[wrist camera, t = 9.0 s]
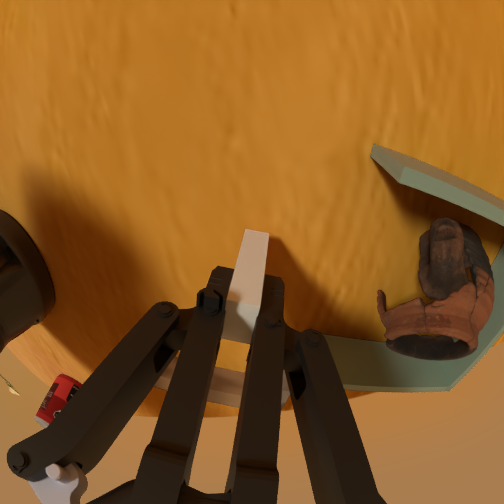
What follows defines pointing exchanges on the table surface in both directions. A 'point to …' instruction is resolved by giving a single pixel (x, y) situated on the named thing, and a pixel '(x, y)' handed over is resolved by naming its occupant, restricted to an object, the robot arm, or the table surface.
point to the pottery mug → (443, 297)
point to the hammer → (221, 385)
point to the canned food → (56, 399)
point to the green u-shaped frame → (452, 371)
